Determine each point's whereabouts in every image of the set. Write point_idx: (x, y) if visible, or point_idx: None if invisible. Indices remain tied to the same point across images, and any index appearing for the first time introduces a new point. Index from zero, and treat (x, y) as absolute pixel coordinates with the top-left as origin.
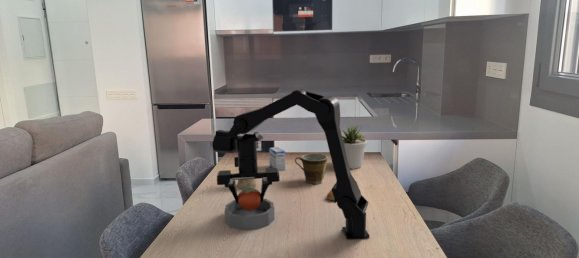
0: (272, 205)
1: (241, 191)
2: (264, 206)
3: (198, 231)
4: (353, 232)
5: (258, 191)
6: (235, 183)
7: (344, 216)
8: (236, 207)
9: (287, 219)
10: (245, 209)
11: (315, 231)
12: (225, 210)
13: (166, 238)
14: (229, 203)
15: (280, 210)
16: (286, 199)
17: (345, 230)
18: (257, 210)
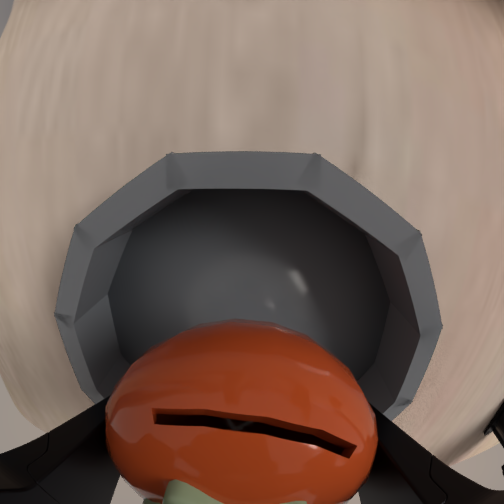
0: (419, 372)
1: (133, 487)
2: (371, 239)
3: (50, 376)
4: (497, 437)
5: (350, 498)
6: (15, 500)
7: (502, 469)
8: (133, 228)
9: (437, 348)
10: (211, 418)
11: (459, 417)
12: (84, 389)
13: (7, 377)
14: (67, 286)
15: (445, 234)
16: (477, 83)
17: (502, 415)
18: (307, 264)
